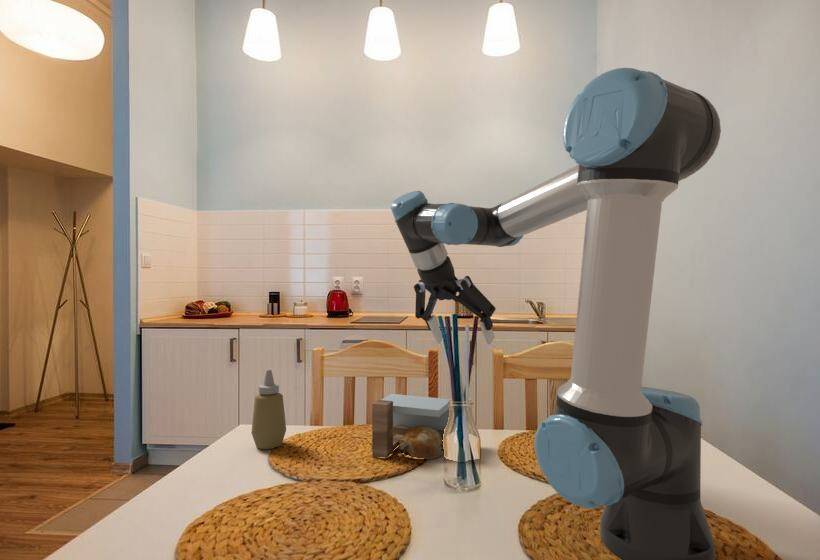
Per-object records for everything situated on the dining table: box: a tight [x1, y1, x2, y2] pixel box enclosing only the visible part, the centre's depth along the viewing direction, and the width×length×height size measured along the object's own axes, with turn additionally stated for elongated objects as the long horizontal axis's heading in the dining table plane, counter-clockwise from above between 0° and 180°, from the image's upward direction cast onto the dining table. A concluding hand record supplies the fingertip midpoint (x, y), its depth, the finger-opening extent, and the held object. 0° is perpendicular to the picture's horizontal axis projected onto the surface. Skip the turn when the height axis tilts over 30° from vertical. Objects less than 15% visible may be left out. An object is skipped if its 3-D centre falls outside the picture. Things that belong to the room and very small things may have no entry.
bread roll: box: [397, 425, 444, 461], centre depth 110 cm, size 10×10×8 cm
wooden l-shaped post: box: [371, 399, 444, 458], centre depth 111 cm, size 14×15×12 cm
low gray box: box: [380, 393, 450, 431], centre depth 115 cm, size 10×16×10 cm, turn 68°
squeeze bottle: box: [251, 369, 287, 450], centre depth 115 cm, size 8×8×18 cm
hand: (465, 340), depth 112 cm, fingers open, 13 cm apart
